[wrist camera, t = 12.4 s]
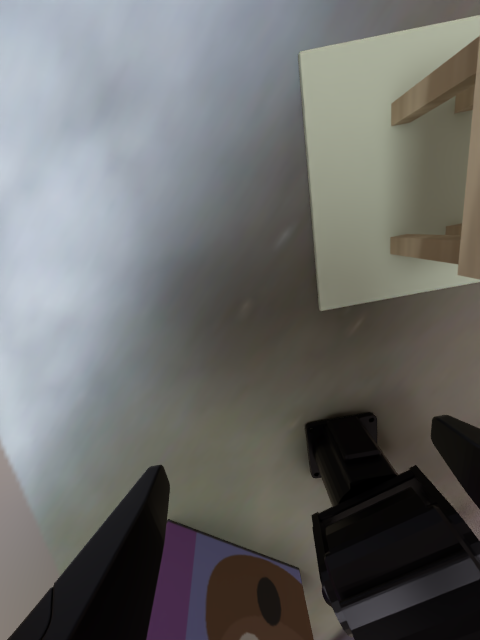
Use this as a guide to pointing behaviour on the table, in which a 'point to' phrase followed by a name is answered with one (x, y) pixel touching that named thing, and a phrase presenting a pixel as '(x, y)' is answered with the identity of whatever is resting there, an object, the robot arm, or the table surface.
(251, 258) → the table surface
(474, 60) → the beige wooden bench
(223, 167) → the table surface
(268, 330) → the table surface
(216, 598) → the cereal box
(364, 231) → the mat
